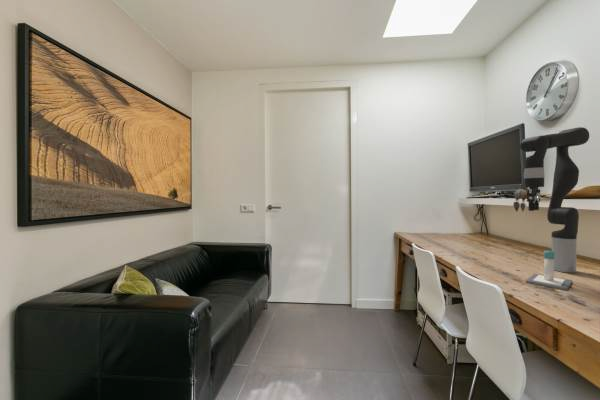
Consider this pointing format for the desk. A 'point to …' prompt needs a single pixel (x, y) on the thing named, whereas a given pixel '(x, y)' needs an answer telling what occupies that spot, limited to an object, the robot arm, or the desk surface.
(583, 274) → the desk surface
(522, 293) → the desk surface
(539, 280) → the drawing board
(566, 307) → the desk surface
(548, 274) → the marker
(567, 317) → the desk surface
